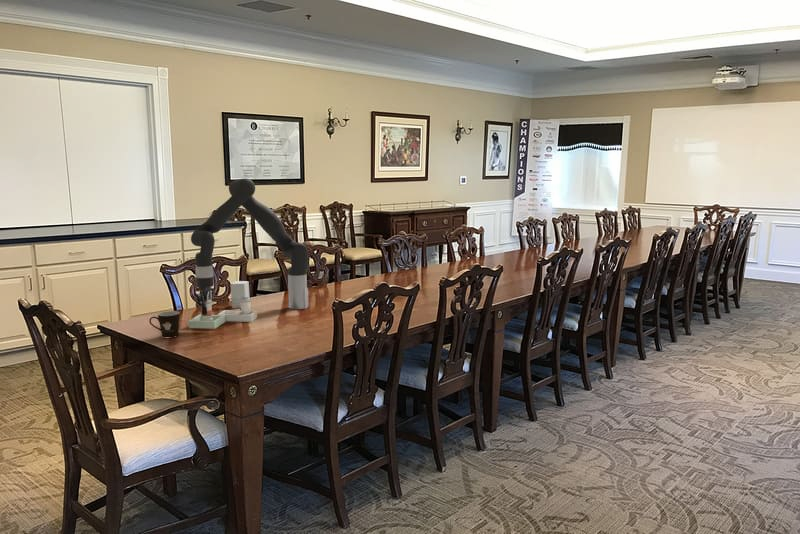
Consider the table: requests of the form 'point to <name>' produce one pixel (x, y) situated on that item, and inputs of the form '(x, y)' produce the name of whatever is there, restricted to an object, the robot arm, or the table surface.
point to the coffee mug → (168, 323)
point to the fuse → (245, 305)
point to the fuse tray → (207, 322)
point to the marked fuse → (209, 312)
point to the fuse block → (238, 316)
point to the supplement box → (239, 292)
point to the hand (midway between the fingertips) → (206, 313)
